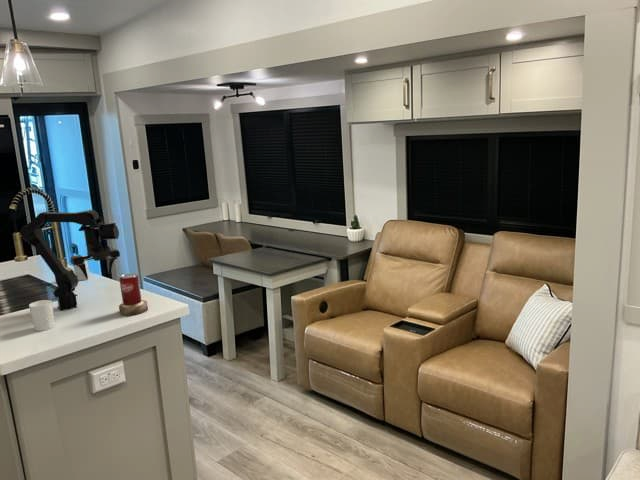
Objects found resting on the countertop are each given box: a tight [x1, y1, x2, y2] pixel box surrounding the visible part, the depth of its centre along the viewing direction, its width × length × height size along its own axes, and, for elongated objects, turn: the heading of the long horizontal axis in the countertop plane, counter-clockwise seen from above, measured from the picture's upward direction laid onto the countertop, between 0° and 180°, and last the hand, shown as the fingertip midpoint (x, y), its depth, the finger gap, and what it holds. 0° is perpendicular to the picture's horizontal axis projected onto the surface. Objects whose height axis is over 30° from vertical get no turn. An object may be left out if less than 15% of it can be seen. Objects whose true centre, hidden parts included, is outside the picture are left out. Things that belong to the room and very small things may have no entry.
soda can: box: [118, 272, 143, 306], centre depth 215 cm, size 7×7×12 cm
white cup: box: [28, 299, 55, 332], centre depth 202 cm, size 8×8×10 cm
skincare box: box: [72, 260, 91, 282], centre depth 270 cm, size 6×4×12 cm
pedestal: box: [118, 299, 149, 317], centre depth 217 cm, size 11×11×3 cm
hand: (98, 276), depth 224 cm, fingers open, 9 cm apart
